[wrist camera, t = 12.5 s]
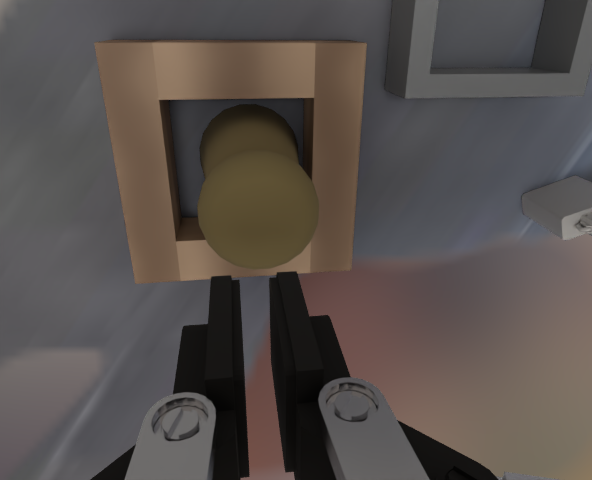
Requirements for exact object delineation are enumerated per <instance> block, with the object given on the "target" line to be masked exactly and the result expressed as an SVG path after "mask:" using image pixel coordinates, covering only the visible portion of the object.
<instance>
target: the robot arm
mask: <svg viewBox="0 0 592 480" xmlns="http://www.w3.org/2000/svg"><path fill="white" fill-rule="evenodd" d="M269 289H270V336H271V364H272V372H273V380H274V389H275V396H276V404H277V412H278V419H279V428H280V435H281V443H282V451H283V459H284V466H285V472H294V476H295V480H557V479H551V478H543V477H537V476H530V475H523V474H516V473H509V472H504V475H503V477H496V476H495V475H494V474H493V473H492V472H491V471H490V470H489V469H487V468H485V467H484V466H482V465H481V464H479V463H478V462H476V461H474V460H472V459H470V458H468V457H467V456H465V455H463V454H461V453H459V452H457V451H455V450H453V449H451V448H449V447H447V446H446V445H444V444H442V443H440V442H438V441H436V440H434V439H432V438H430V437H429V436H426V435H425V434H422V433H421V432H419V431H417V430H415V429H413V428H411V427H409V426H407V425H406V424H404V423H402V422H400V421H398V420H397V419H396V417H395V416H394V414H393V412H392V410H391V408H390V407H389V405H388V403H387V401H386V399H385V397H384V396H383V394H382V393H381V392H380V390H379V389H378V388H377V387H375V386H374V385H373V384H371V383H369V382H367V381H365V380H362V379H358V378H352V377H350V374H349V372H348V368H347V365H346V363H345V360H344V357H343V354H342V351H341V348H340V346H339V342H338V340H337V337H336V334H335V331H334V328H333V325H332V322H331V319H330V317H329V316H328V315H323V316H310V317H309V314H308V310H307V307H306V303H305V300H304V296H303V293H302V289H301V285H300V281H299V278H298V274H297V271H290V272H277V275H276V278H269ZM248 459H249V458H248V438H247V416H246V396H245V376H244V356H243V338H242V320H241V301H240V283H239V280H232V278H231V275H226V276H211V287H210V302H209V318H208V324H203V325H189V326H184V327H183V329H182V336H181V342H180V349H179V356H178V363H177V370H176V377H175V384H174V391H173V395H171V396H168V397H165V398H164V399H162V400H160V401H159V402H157V403H156V404H155V405H154V406H153V407H152V408H151V409H150V410H149V411H148V413H147V415H146V417H145V419H144V422H143V425H142V428H141V431H140V434H139V437H138V440H137V443H136V445H135V446H133V447H132V448H131V449H129V450H128V451H127V452H125V453H124V454H123V455H122V456H120V457H119V458H118V459H116V460H115V461H114V462H113V463H111V464H110V465H109V466H107V467H106V468H105V469H104V470H102V471H101V472H100V473H98V474H97V475H96V476H95V477H93V478H92V479H91V480H240V478H243V477H249V460H248Z"/></svg>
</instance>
